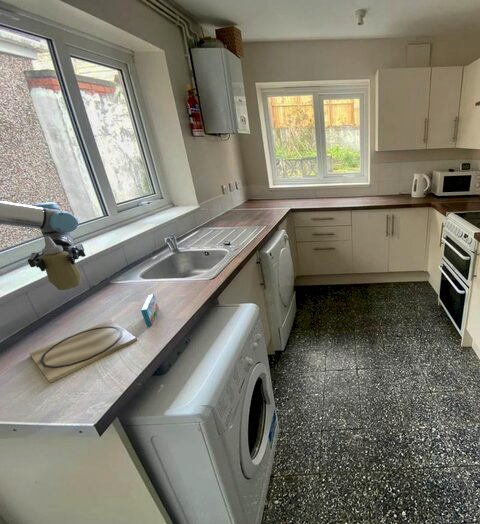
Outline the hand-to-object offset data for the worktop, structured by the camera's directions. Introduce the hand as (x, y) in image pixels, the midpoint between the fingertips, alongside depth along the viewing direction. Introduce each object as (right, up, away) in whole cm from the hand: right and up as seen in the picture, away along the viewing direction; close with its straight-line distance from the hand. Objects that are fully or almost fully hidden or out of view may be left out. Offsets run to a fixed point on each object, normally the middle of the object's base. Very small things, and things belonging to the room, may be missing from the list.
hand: (56, 263), depth 92 cm
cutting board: (+15, -25, -6) cm, 30 cm away
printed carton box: (+25, -19, +9) cm, 33 cm away
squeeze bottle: (-3, -8, +7) cm, 11 cm away
